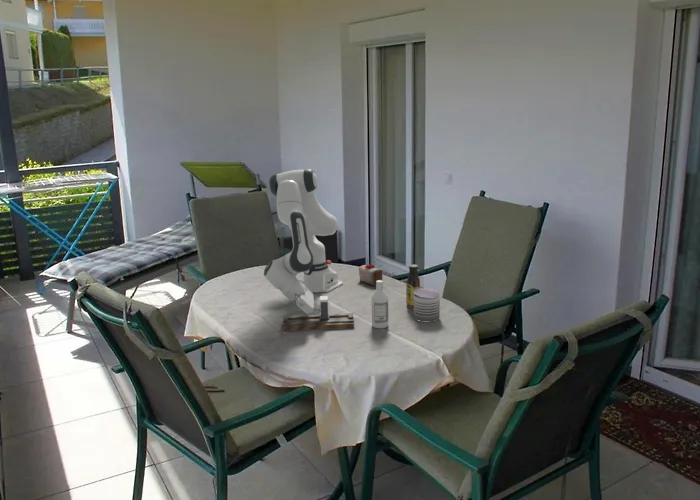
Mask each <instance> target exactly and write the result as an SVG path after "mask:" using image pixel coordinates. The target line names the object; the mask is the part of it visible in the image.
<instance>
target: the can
mask: <svg viewBox="0 0 700 500" xmlns="http://www.w3.org/2000/svg"><path fill="white" fill-rule="evenodd" d="M440 296H441V295H440V291H438V290H435V289H432V288H423V287H420V289H416V290H414V308H413V319H414V320H415V319H417V320H420V321H434V320H437V319H438V318H439V319H440V316H441V315H440V314H441V313H440V310H441V309H440V305H441V303H440V300H441V297H440ZM439 319H438V320H439ZM417 320H416V321H417ZM438 320H437V321H438ZM420 321H419V322H420ZM434 322H435V321H434Z"/></svg>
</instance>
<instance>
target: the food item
mask: <svg viewBox="0 0 700 500" xmlns="http://www.w3.org/2000/svg"><path fill="white" fill-rule="evenodd" d="M358 273H359V274H358V275H359V281H360V282H362V283H364V284H365V283H366V284H368V285H371V286H373V287H376V281H378V280H382V281H383V269H380V268H378V267H375V264H372V263H369V264H363V265H361V266H358Z"/></svg>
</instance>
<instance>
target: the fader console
mask: <svg viewBox="0 0 700 500" xmlns="http://www.w3.org/2000/svg"><path fill="white" fill-rule="evenodd" d="M320 315H321V314H309V315H308V314H305V315H304V314H303V315H287V316H286V315H284V316H283V317H282V318H283V319H282V329H283V330H282V332H298V331H317V330H319V331H321V330H320V329H324V330H339V329H338V328H345V329H355V320H354V313H353V312H352V313H351V312H350V313H332V314H331V313H330V314H329V313H328V315H329V320H320Z"/></svg>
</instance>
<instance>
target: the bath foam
mask: <svg viewBox="0 0 700 500" xmlns="http://www.w3.org/2000/svg"><path fill="white" fill-rule="evenodd" d="M375 287H376V289H375V291H374V292H373V293H372V295H371V326H372V327H373V328H375V329H386V328H387V327H388V326H389V298H388V297H389V296H388V295H387V293H386V291H385V290H384V281H383V279H382V280H378V281H376V286H375ZM385 327H386V328H385Z"/></svg>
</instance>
